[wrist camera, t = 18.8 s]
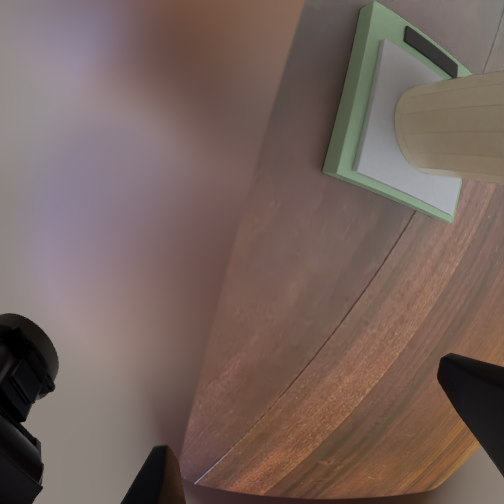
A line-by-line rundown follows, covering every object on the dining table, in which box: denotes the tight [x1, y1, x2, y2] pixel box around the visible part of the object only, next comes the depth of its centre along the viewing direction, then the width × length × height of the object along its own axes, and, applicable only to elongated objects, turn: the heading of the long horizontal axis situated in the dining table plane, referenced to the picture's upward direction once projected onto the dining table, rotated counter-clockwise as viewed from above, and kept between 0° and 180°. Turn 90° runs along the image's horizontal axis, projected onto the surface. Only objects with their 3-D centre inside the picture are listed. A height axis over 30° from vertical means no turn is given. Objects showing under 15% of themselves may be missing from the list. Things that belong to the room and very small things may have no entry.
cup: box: [394, 71, 504, 185], centre depth 12 cm, size 6×6×13 cm
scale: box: [322, 1, 472, 223], centre depth 19 cm, size 14×12×3 cm
